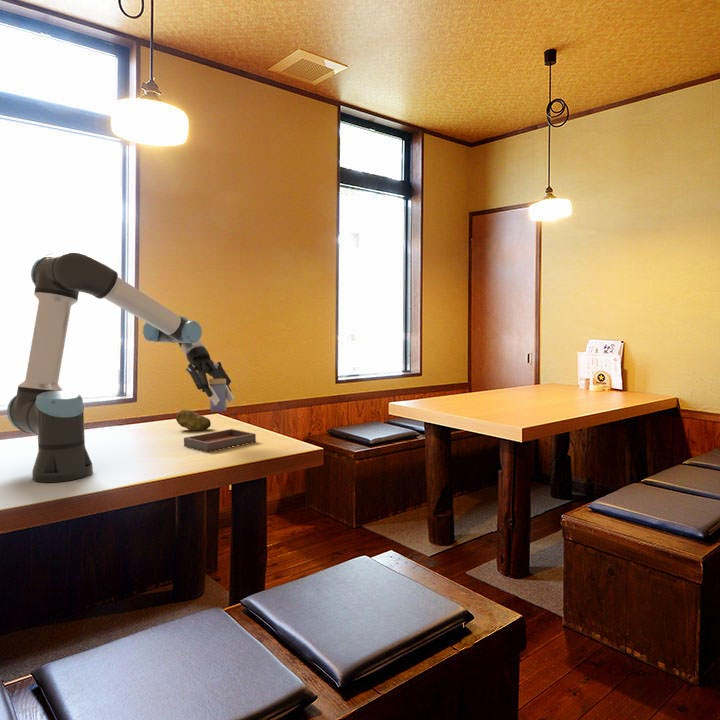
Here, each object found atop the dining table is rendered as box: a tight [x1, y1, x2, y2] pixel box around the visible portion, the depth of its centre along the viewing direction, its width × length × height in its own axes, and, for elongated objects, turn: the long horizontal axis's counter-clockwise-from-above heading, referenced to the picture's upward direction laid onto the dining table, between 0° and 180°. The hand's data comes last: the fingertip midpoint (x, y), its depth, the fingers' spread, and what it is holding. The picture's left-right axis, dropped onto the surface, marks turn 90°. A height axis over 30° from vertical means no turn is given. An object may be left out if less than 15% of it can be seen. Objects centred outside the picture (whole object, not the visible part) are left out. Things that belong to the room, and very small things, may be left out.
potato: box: [175, 409, 212, 432], centre depth 225 cm, size 8×13×8 cm, turn 74°
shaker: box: [208, 377, 227, 413], centre depth 199 cm, size 6×6×11 cm
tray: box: [183, 428, 257, 453], centre depth 199 cm, size 20×14×3 cm
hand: (224, 401), depth 196 cm, fingers closed on shaker, 5 cm apart
